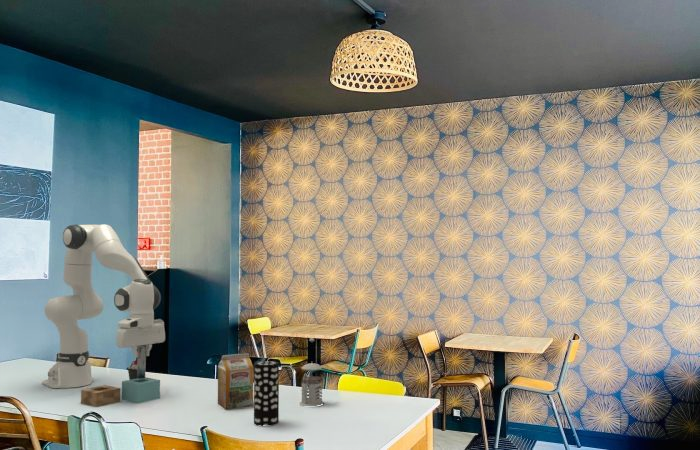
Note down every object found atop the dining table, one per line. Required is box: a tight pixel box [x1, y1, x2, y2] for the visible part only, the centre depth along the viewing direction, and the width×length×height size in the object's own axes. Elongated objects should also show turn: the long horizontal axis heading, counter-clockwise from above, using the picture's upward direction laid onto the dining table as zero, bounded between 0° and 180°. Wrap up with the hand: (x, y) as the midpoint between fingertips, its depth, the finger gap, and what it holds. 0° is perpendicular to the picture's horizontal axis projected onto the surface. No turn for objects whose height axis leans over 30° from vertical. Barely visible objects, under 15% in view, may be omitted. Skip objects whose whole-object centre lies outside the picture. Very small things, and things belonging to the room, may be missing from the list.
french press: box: [298, 337, 325, 407], centre depth 232 cm, size 10×12×25 cm
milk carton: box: [217, 352, 254, 411], centre depth 231 cm, size 11×11×19 cm
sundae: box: [125, 358, 137, 380], centre depth 251 cm, size 7×7×15 cm
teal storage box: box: [121, 376, 161, 404], centre depth 236 cm, size 10×10×8 cm
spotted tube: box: [253, 360, 280, 427], centre depth 207 cm, size 8×8×20 cm
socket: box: [80, 384, 122, 408], centre depth 231 cm, size 10×10×6 cm
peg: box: [137, 345, 147, 379], centre depth 236 cm, size 3×3×12 cm
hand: (141, 356), depth 237 cm, fingers closed on peg, 3 cm apart
